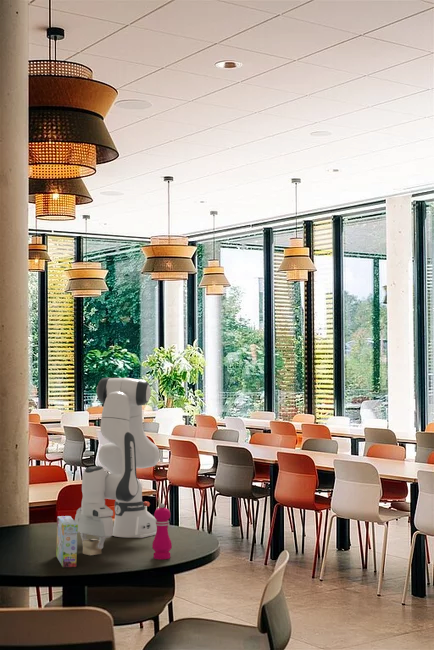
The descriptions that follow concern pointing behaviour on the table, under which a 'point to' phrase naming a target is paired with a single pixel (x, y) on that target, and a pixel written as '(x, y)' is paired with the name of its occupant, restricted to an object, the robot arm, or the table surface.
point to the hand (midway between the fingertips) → (92, 546)
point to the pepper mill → (162, 534)
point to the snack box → (67, 541)
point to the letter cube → (91, 547)
